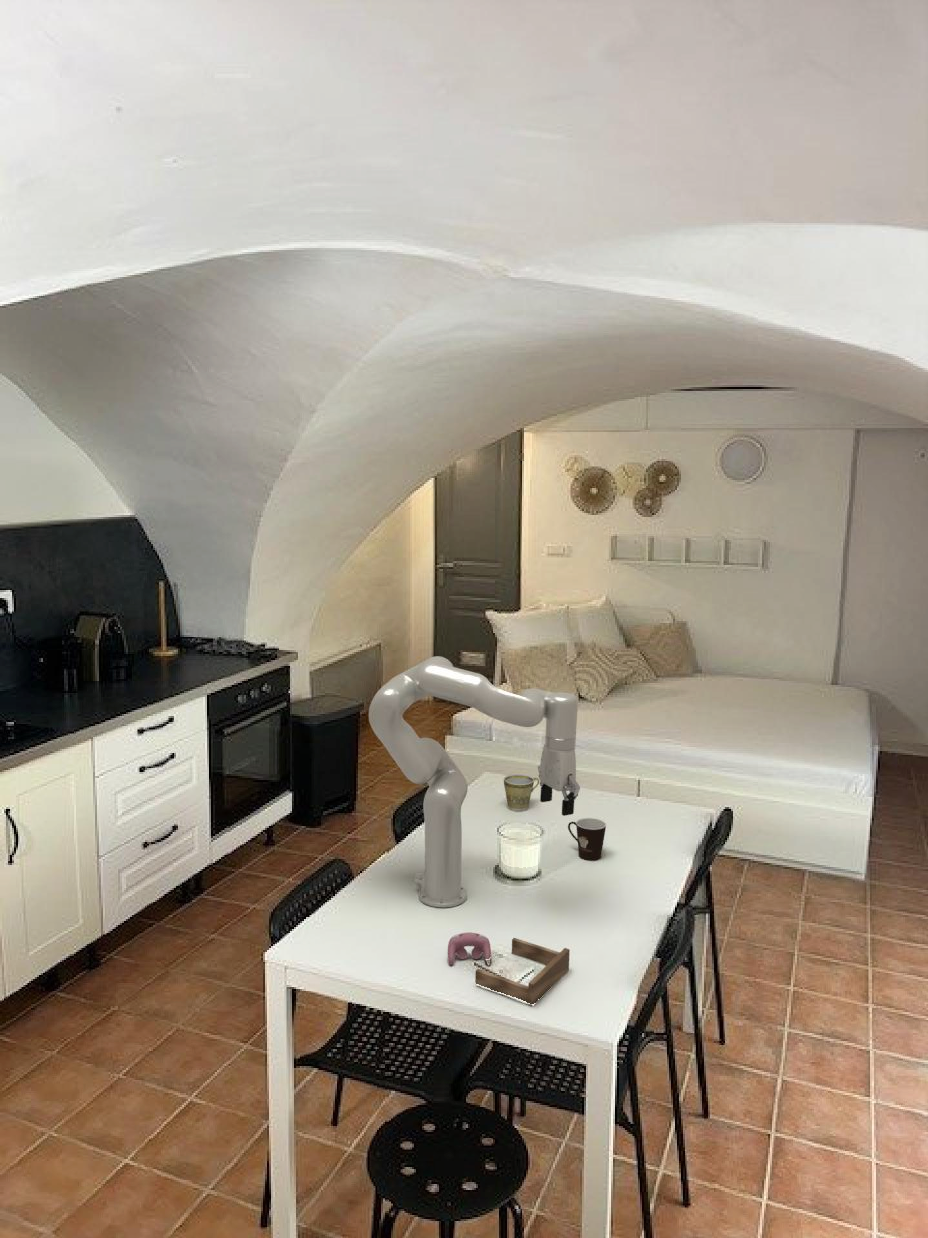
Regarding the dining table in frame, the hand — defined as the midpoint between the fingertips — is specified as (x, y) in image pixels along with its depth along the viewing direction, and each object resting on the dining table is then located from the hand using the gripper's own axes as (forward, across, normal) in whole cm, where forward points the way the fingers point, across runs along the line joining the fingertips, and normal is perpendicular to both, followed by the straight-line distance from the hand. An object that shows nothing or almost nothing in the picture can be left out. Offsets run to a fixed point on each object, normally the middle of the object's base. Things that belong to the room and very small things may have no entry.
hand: (556, 807), depth 230 cm
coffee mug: (+27, -23, +28) cm, 45 cm away
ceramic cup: (+27, -63, +30) cm, 75 cm away
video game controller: (+28, +13, -31) cm, 43 cm away
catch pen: (+27, +25, -24) cm, 44 cm away
